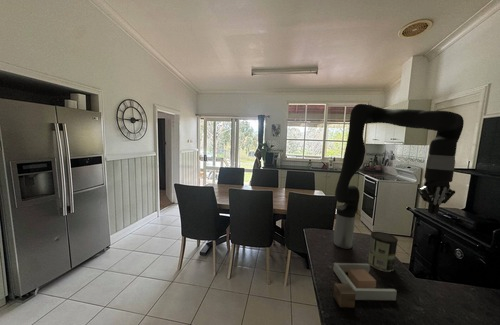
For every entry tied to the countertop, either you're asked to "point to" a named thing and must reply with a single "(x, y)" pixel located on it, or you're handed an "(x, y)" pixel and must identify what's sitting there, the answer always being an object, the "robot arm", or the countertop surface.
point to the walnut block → (344, 295)
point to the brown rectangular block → (361, 278)
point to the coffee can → (382, 251)
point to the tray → (362, 292)
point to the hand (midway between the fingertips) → (432, 213)
